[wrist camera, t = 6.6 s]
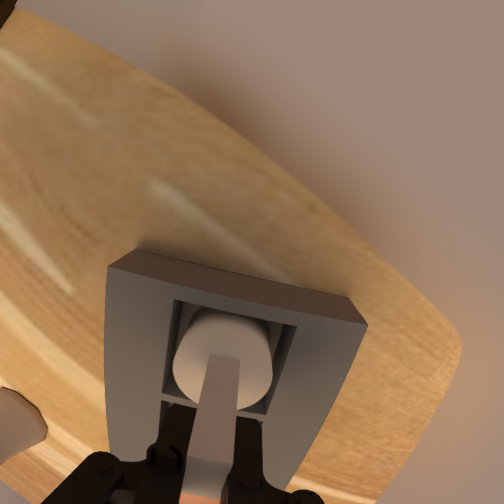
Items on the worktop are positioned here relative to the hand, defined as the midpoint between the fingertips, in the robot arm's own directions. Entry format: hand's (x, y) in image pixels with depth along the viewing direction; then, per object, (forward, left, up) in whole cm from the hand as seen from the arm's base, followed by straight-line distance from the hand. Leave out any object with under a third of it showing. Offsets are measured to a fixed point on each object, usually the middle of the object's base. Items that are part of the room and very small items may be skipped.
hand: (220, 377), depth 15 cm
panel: (+7, 0, -5) cm, 9 cm away
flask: (+18, -20, -6) cm, 27 cm away
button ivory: (0, 0, -4) cm, 4 cm away
